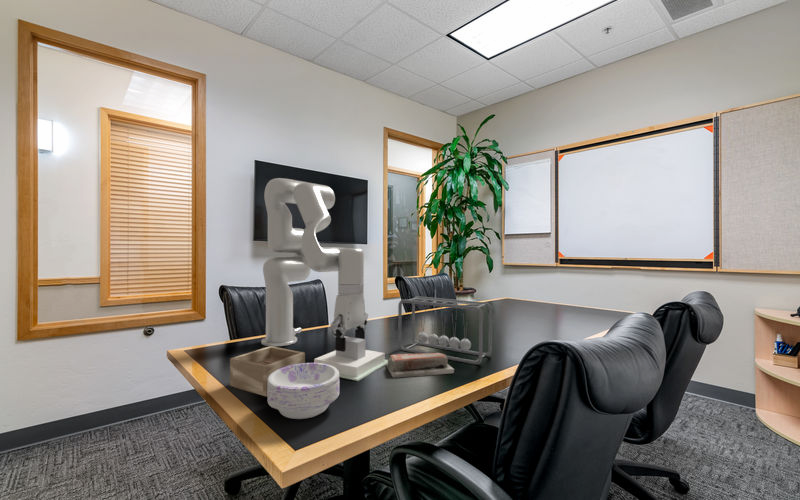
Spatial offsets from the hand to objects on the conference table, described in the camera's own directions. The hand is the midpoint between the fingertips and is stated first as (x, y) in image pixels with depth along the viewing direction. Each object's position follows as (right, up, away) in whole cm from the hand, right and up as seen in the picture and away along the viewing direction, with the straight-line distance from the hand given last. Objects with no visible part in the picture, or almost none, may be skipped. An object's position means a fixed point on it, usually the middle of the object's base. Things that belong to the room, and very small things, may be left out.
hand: (350, 346), depth 106 cm
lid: (0, -5, 0) cm, 5 cm away
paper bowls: (-6, -6, -28) cm, 30 cm away
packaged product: (+20, -7, -3) cm, 22 cm away
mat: (0, -6, 0) cm, 6 cm away
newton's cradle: (+29, -6, +13) cm, 33 cm away
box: (-20, -6, -13) cm, 24 cm away
